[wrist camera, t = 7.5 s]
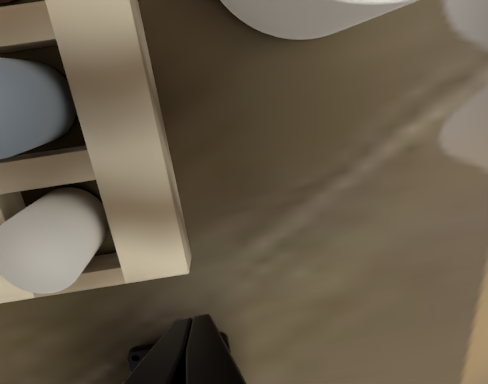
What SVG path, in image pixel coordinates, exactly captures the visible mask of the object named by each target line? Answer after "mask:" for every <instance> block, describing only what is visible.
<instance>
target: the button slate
mask: <svg viewBox="0 0 488 384" xmlns="http://www.w3.org/2000/svg"><path fill="white" fill-rule="evenodd" d="M75 117H76V108H75V104H74V101H73V97H72V94H71V90H70V87H69V83H68V82H67V80H66V79H65V78H64V77H63V76H62V75H61V74H60V73H59V72H58V71H56V70H55V69H54V68H52V67H50V66H49V65H46V64H44V63H41V62H38V61H32V60H21V59H10V58H0V159H4V158H9V157H11V156H14V155H17V154H19V153H22V152H25V151H27V150H30V149H33V148H35V147H38V146H41V145H43V144H46V143H49V142H51V141H54V140H57V139H59V138H61V137H62V136H63V135H65V134H66V133H67V132H68V131H69V130H70V128H71V127H72V125H73V123H74V120H75Z"/></svg>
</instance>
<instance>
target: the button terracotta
mask: <svg viewBox="0 0 488 384" xmlns="http://www.w3.org/2000/svg"><path fill="white" fill-rule="evenodd" d="M10 1H13V0H0V4H1V3H7V2H10Z"/></svg>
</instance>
